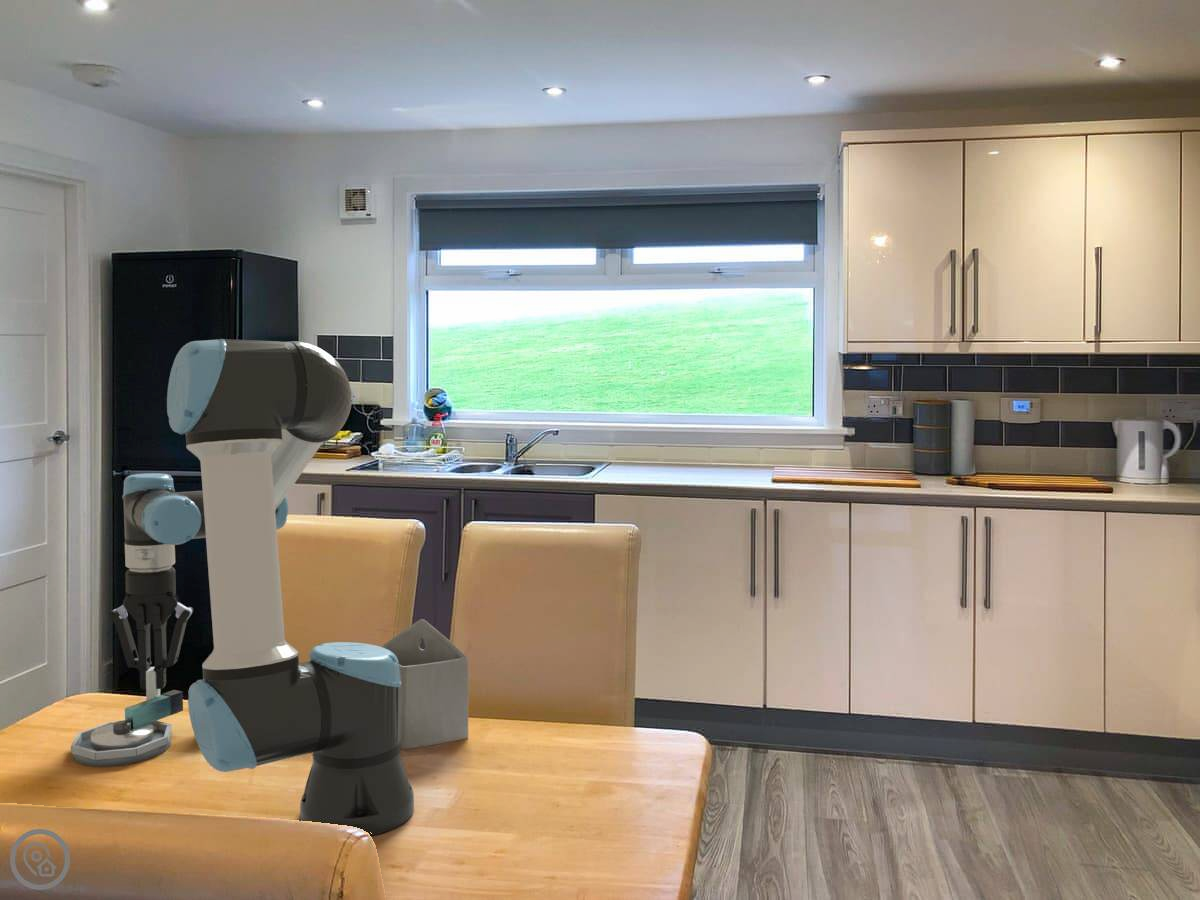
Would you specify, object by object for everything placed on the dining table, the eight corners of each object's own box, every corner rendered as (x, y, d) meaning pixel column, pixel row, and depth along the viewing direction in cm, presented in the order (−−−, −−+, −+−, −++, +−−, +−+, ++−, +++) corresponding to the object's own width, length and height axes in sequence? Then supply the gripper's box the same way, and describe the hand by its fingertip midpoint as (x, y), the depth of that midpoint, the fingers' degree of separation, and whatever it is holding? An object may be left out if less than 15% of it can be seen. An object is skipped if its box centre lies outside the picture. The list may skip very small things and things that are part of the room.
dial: (117, 754, 155) (116, 724, 154) (77, 744, 158) (76, 715, 158) (198, 722, 169) (197, 694, 168) (159, 713, 172) (159, 686, 172)
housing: (190, 742, 164) (189, 728, 163) (113, 773, 151) (112, 758, 151) (131, 727, 170) (131, 714, 170) (53, 755, 158) (52, 741, 158)
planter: (356, 744, 164) (354, 626, 162) (379, 727, 171) (378, 615, 170) (449, 755, 159) (449, 634, 158) (469, 737, 167) (468, 622, 165)
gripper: (100, 572, 162) (104, 716, 164) (185, 571, 164) (188, 714, 166) (116, 563, 169) (120, 701, 171) (197, 562, 171) (200, 698, 173)
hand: (153, 707), depth 168 cm, fingers closed
